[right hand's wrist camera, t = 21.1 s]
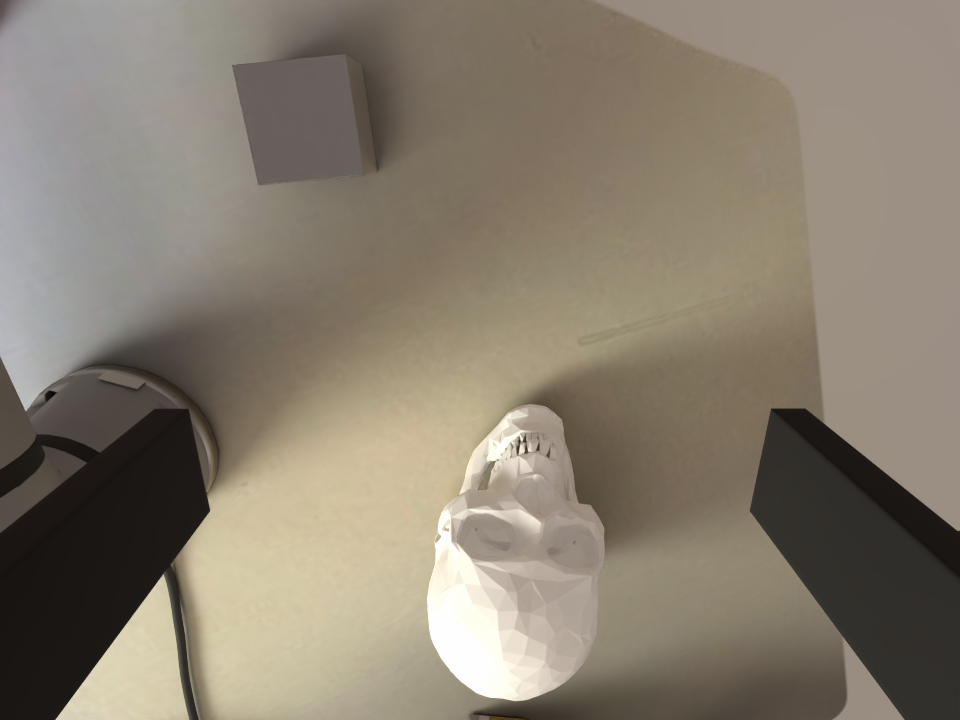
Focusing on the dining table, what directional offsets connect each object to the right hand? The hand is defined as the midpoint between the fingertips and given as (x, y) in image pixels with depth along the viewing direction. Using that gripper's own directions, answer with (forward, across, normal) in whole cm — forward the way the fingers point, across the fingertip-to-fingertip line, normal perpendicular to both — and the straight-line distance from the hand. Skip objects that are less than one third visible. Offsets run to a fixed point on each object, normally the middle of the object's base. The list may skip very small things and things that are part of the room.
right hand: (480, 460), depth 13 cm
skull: (+32, -3, +24) cm, 40 cm away
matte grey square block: (+32, +11, -8) cm, 35 cm away
